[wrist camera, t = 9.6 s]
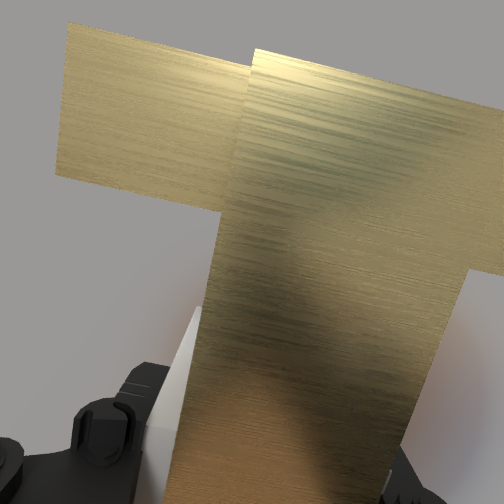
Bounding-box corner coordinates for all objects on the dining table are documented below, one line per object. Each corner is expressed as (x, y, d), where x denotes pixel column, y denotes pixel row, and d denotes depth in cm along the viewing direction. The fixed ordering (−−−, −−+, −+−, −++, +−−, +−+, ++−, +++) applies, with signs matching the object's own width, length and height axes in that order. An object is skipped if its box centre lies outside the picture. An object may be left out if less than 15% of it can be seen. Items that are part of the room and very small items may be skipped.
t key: (326, 634, 13) (507, 171, 9) (359, 840, 9) (717, 164, 5) (69, 592, 12) (139, 82, 8) (-19, 791, 8) (34, -8, 4)
